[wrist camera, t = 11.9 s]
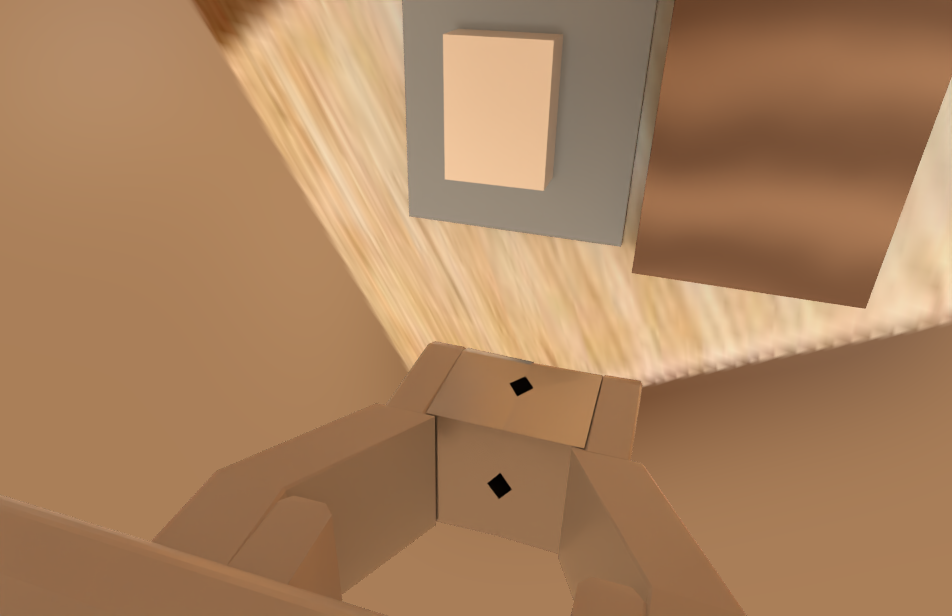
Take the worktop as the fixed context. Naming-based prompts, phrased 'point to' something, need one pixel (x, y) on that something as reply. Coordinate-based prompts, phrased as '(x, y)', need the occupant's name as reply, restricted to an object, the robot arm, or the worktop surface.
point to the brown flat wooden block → (790, 141)
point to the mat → (578, 119)
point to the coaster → (501, 106)
